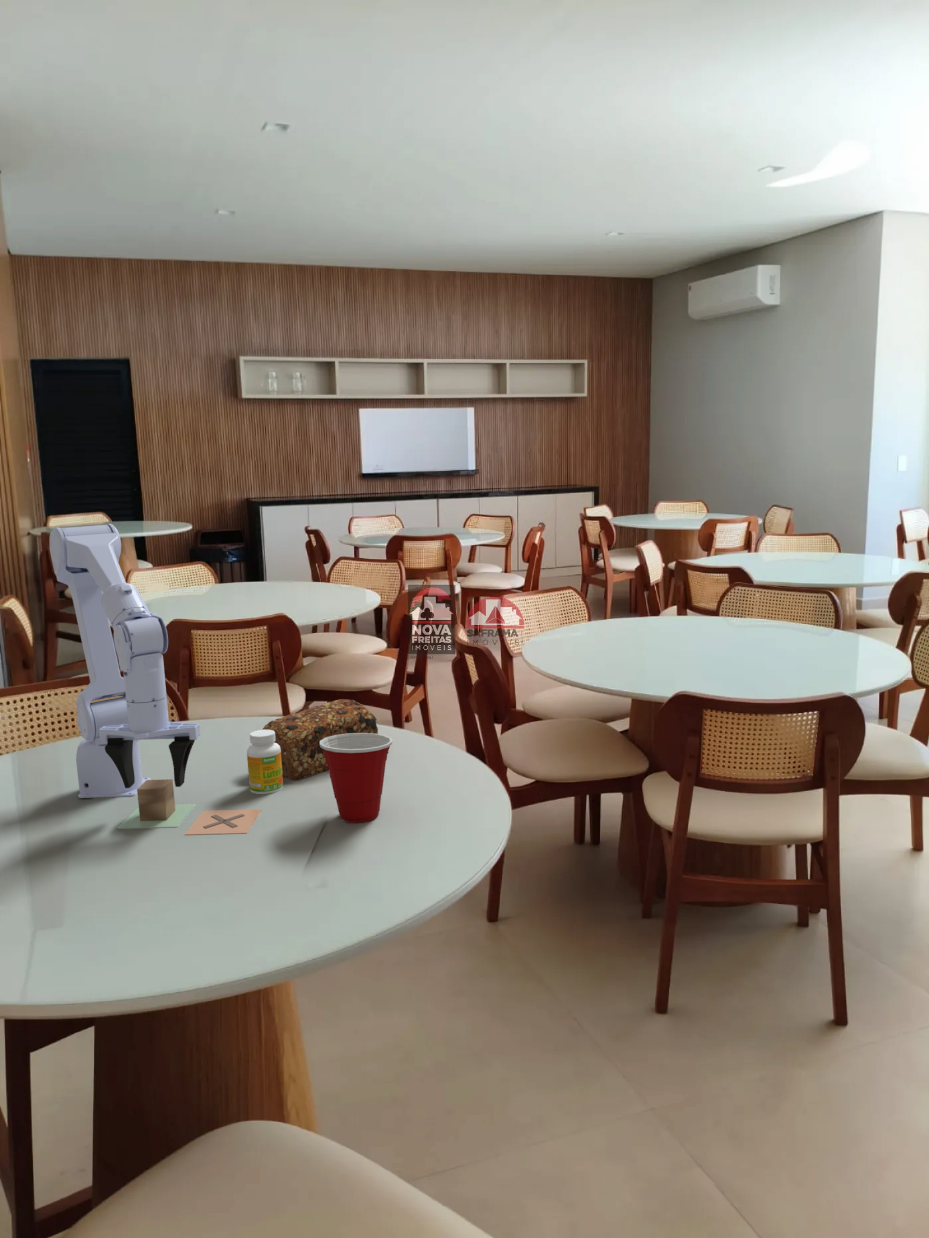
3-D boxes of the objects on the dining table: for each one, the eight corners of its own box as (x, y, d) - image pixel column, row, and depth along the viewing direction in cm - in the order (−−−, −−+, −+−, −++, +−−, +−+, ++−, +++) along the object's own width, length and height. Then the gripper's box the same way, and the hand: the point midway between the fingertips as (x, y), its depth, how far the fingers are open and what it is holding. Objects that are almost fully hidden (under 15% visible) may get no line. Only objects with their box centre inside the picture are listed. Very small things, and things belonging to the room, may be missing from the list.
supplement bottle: (264, 798, 146) (260, 739, 144) (242, 792, 149) (238, 734, 147) (290, 788, 150) (286, 731, 148) (268, 782, 153) (264, 726, 151)
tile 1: (117, 830, 134) (117, 828, 134) (140, 807, 143) (139, 805, 143) (177, 829, 134) (177, 826, 134) (196, 806, 143) (196, 803, 143)
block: (140, 821, 137) (136, 789, 136) (149, 811, 141) (146, 780, 140) (166, 820, 137) (163, 788, 136) (175, 810, 141) (172, 779, 140)
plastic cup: (409, 807, 140) (405, 731, 137) (373, 833, 130) (368, 753, 128) (348, 798, 144) (344, 725, 142) (309, 823, 134) (304, 745, 132)
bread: (347, 744, 173) (343, 693, 171) (382, 756, 165) (379, 702, 163) (260, 769, 160) (256, 714, 158) (294, 783, 152) (289, 725, 151)
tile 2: (184, 837, 131) (184, 833, 131) (203, 813, 140) (203, 810, 140) (246, 835, 131) (246, 832, 131) (261, 811, 140) (261, 808, 140)
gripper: (86, 706, 132) (96, 795, 134) (186, 703, 131) (194, 793, 134) (106, 694, 139) (115, 779, 141) (201, 691, 138) (208, 777, 141)
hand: (154, 785), depth 138 cm, fingers open, 7 cm apart
